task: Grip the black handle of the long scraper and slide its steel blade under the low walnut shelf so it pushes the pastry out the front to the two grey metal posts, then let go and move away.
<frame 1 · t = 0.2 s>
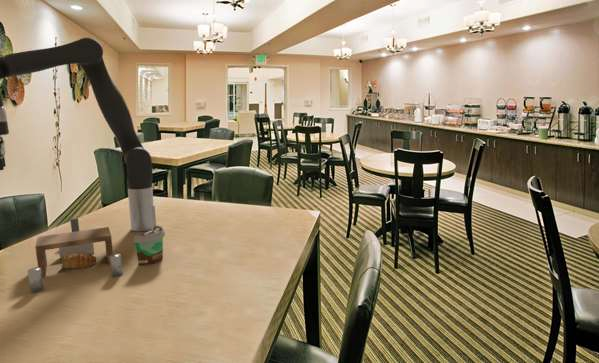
hand: (0, 168, 136), 28 cm above the table, tool pointing down, fingers open, 8 cm apart
scraper: (77, 248, 141), on the table
goal posts: (78, 282, 114), on the table
pastry: (78, 265, 126), on the table
low shelf: (77, 264, 126), on the table
food container: (155, 260, 130), on the table
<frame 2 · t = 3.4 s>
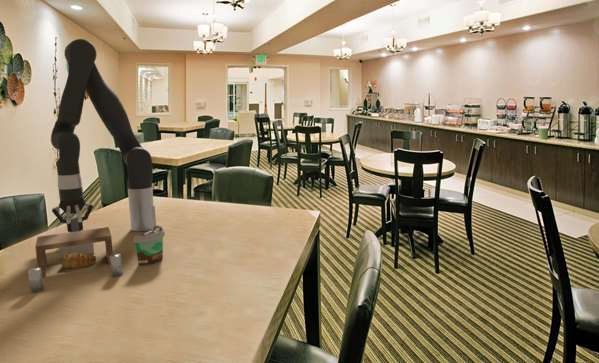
hand: (75, 231, 147), 4 cm above the table, tool pointing down, fingers closed on scraper, 2 cm apart
scraper: (77, 247, 141), on the table, touching gripper
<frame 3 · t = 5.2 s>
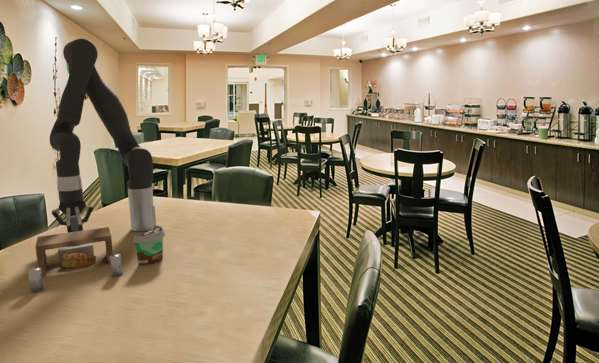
hand: (75, 234, 144), 4 cm above the table, tool pointing down, fingers closed on scraper
scraper: (76, 248, 139), point 1 cm above the table, touching gripper
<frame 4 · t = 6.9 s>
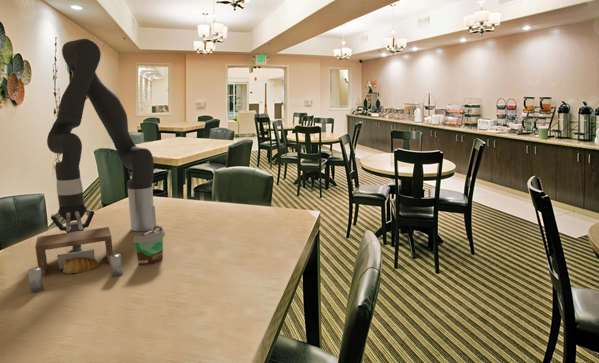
hand: (76, 240, 138), 4 cm above the table, tool pointing down, fingers closed on scraper, 2 cm apart
scraper: (77, 255, 133), on the table, touching gripper
pastry: (78, 270, 123), on the table
everything else where it was.
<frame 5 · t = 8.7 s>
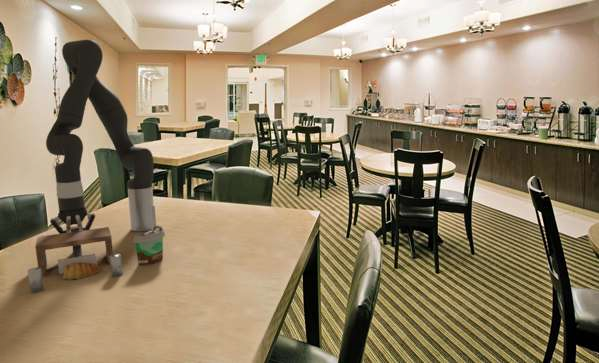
hand: (76, 244, 134), 4 cm above the table, tool pointing down, fingers closed on scraper, 2 cm apart
scraper: (77, 260, 129), on the table, touching gripper
pastry: (79, 275, 119), on the table
everything else where it was.
when the fingers open (4 cm above the table, at t = 9.8 s): scraper stays where it is, on the table.
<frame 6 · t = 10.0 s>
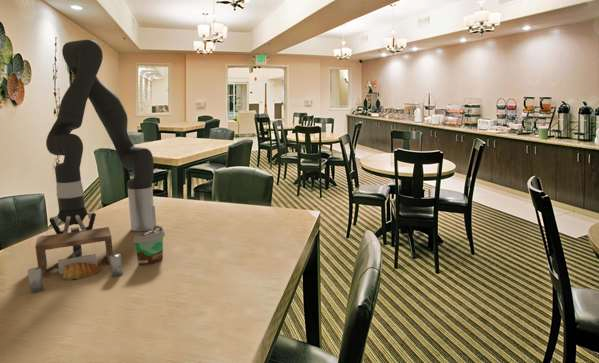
hand: (76, 244, 134), 4 cm above the table, tool pointing down, fingers open, 4 cm apart
scraper: (78, 261, 129), on the table
everything else where it was.
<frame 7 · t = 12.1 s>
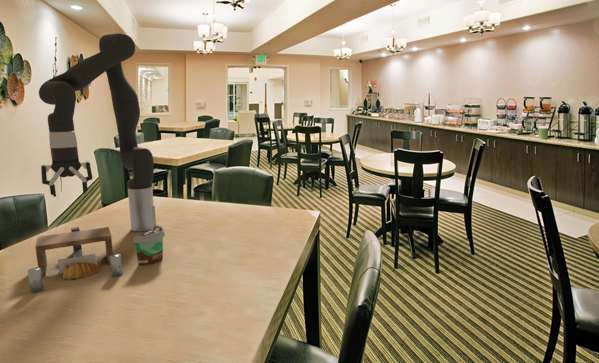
hand: (69, 194, 131), 21 cm above the table, tool pointing down, fingers open, 8 cm apart
nothing on the table moved.
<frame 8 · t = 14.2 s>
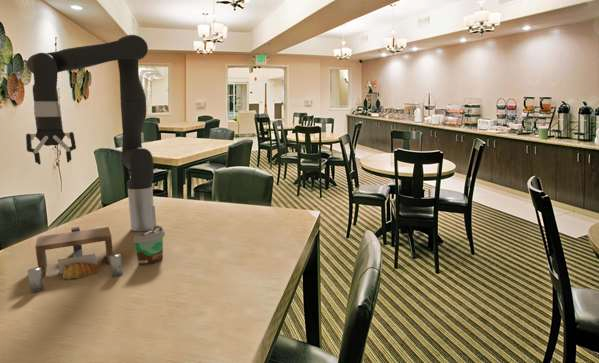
hand: (54, 163, 137), 30 cm above the table, tool pointing down, fingers open, 8 cm apart
nothing on the table moved.
at the end: pastry inside the target area (5.9 cm from its centre), on the table; pastry tilted 0° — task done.
